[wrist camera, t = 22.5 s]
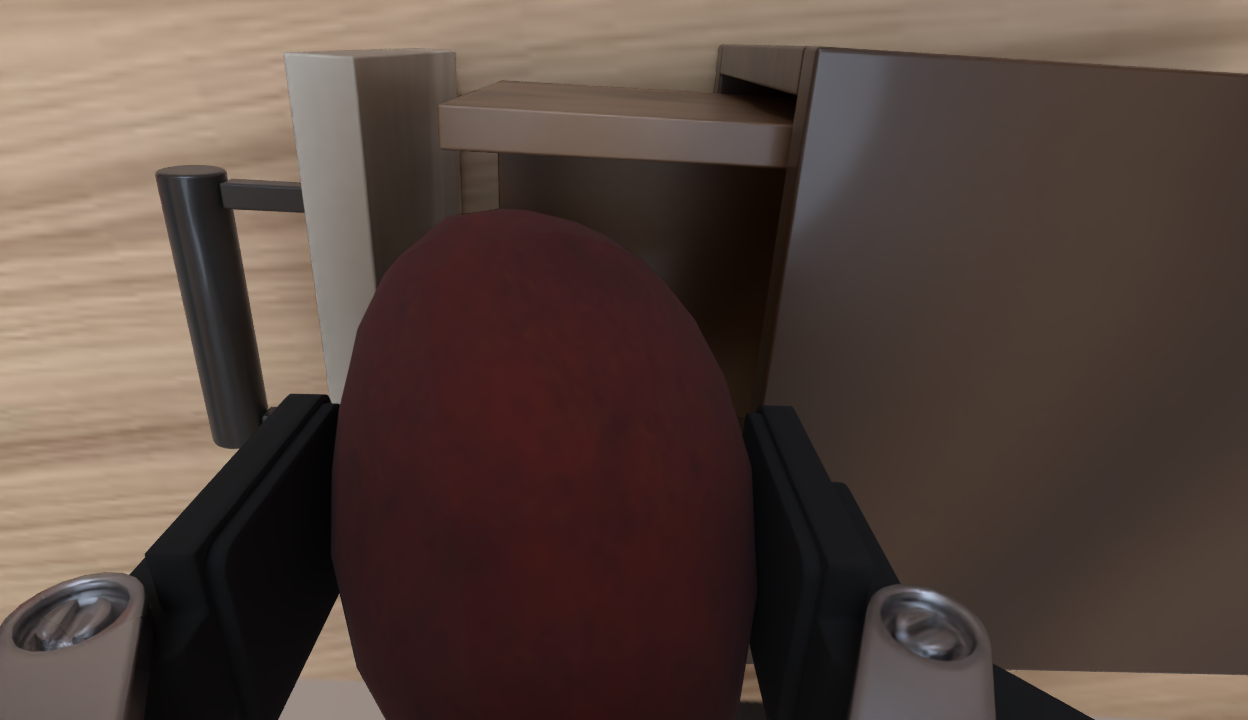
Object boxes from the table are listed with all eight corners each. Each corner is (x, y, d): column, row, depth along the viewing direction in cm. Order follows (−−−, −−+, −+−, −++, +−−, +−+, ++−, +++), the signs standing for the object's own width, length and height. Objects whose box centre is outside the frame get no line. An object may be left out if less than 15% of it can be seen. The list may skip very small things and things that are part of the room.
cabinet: (677, 437, 26) (719, 664, 17) (718, 44, 21) (816, 46, 11) (1075, 452, 27) (1335, 678, 17) (1220, 75, 21) (1721, 103, 12)
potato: (763, 137, 11) (359, 51, 8) (955, 853, 9) (495, 1203, 5) (556, 304, 17) (274, 299, 13) (637, 759, 14) (320, 894, 11)
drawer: (309, 421, 25) (166, 603, 17) (251, 37, 20) (5, 35, 12) (834, 441, 26) (939, 623, 18) (912, 79, 20) (1109, 102, 12)
